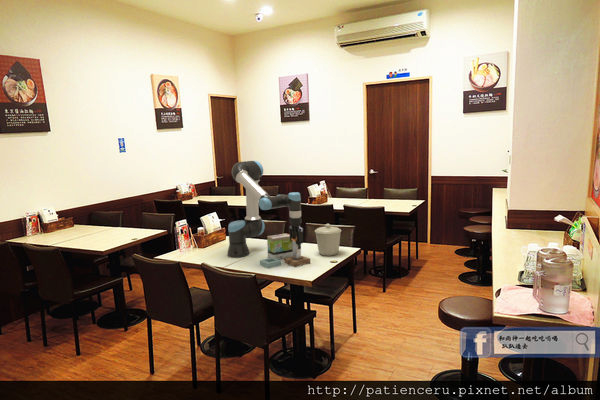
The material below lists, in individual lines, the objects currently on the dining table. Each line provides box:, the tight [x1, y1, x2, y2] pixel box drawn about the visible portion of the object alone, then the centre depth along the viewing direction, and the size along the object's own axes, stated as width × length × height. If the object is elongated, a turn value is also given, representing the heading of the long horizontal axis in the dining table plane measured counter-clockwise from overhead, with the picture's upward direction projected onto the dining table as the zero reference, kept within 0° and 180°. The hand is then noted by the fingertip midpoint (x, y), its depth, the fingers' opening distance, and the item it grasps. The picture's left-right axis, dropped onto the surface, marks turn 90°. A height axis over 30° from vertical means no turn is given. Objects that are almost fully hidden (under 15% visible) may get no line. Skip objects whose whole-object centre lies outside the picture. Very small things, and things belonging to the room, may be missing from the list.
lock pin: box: [291, 238, 302, 260], centre depth 255 cm, size 5×5×14 cm
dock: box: [283, 255, 311, 268], centre depth 256 cm, size 12×12×3 cm
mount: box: [259, 257, 283, 269], centre depth 254 cm, size 10×10×3 cm
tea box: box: [266, 233, 293, 260], centre depth 270 cm, size 15×10×15 cm
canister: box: [314, 223, 342, 257], centre depth 273 cm, size 18×18×21 cm
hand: (296, 253), depth 255 cm, fingers closed on lock pin, 4 cm apart
